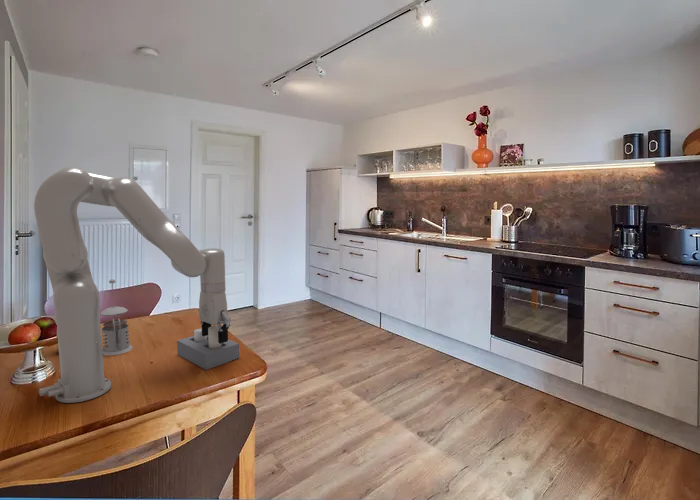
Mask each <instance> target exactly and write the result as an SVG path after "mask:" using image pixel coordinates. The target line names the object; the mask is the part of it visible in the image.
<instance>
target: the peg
mask: <svg viewBox="0 0 700 500" xmlns="http://www.w3.org/2000/svg"><path fill="white" fill-rule="evenodd" d="M218 331H219V329H218V326H217V325H211V327H209V328H208V340H209V349H211V350H214V349H217V348H220V347H222V343H221V344H220V343H218Z"/></svg>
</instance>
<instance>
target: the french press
mask: <svg viewBox="0 0 700 500" xmlns="http://www.w3.org/2000/svg"><path fill="white" fill-rule="evenodd" d="M108 282H109V284H111V287H112V291H114V284H115V283H116V279H109V281H108ZM114 293H115V292H112V302H113V303H112V305H113V306H111V307H107V308H105V309H104V310H101V312H100V316H103V317H113V318H112V320H109V321H108V320H107V321H105V322H104V323H102V326H103V327H102V328H101V338H102V337H103V338H102V354H103V356H116V355H121V354H122V355H123V354H125V353H128V352H130V351H131V350H133V347H134V346H132V345H131V344H130V337H129V336H130V335H129V332H130V331H129V324H127V322H128V321H127V320H126V319H120V318H119V317H118V319H116V316H120V315H124V314H126V313H127V312H128V311H129V310H128V309H127V308H125V307H122V306H115V297H114V295H115V294H114Z"/></svg>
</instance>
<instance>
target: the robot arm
mask: <svg viewBox="0 0 700 500" xmlns="http://www.w3.org/2000/svg"><path fill="white" fill-rule="evenodd" d="M33 203H34V204H33V209H34V217H35V220H36V225H37V230H38V234H39V237H40V242H41V246H42V256H43V260H44V262H45V267H46V270H47V273H48V276H49V281H50V284H51V287H52V288H51V289H52V292H53V303H54V311H55V312H54V314H55V323H56V324H55V326H56V325H57V332H56V338H57V337H58V347H59V353H58V356H59V357H58V358H59V368H60V378H57V382H55V383H54V384H53V385H49V386H45V387H42V388H39V389H38V393H39V394H38V395H39V397H43V396H47V397H48V398H50V397H55V400H56V401H58V402H60V403H64V404H66V403H67V404H70V403H71V404H72V403H73V404H74V403H80V402H81V403H82V402H85V401H89V400H92V399H95V398H98V397H100V396H102V395H104V394H106V393H107V392H108V391H110V389H111V388H112V381H111V380H110V379H109V378H106V377H105V371H104V370H105V369H104V355H103V354H102V349H103V339H102V328H101V314H100V313H101V312H100V311H101V299H100V293H99V289H98V287H97V285H96V284H95V282H94V280H93V279H94V278H93V275H92V272H91V267H90V263H89V260H88V259H89V258H88V257H89V255H88V254H89V253H88V250H87V249H88V248H87V247H86V244H85V242H84V239H83V234H82V230H81V228H80V221H79V218H78V217H79V216H78V206H79V204H80V203H85V204H86V203H87V204H92V205H98V206H105V207H114V208H115V209H116V210H117V211H118V212H119V213H120V214H121V215H123V217H124V218H125V219H126V220H127V221H128V222H129V224H131V225H132V226H133V227H134V229H136V230H137V232H138V233H139V234H140V235H141V236H142V237H143V238H144V239H146V240H147V242H149V243H151V244H152V245H154V246H155V247H157V248H158V249H159V250H160V251H161V252H162V253H164V255H166V257H168V259H169V260H170V262H171V266H172V268H173V269H174V271H176V272H178V273H180V274H181V275H183V276H185V277H187V278H196V277H199V276H200V277H199V278H200V293H199V299H198V300H199V301H198V304H199V305H198V318H199V320H200V324H201V329H202V336H207V335H208V328H209V327H211V326H218V329H219V331H218V343H220V344H221V343H224V342H227V341H228V339H229V334H228V333H229V329H230V326H231V321H232V319H231V317H230V316H229V314H228V313H229V310H228V302H227V295H226V264H225V263H226V259H225V257H226V256H225V252H224V250H223V249H221V248H205V249H198V248H197V247H196V246H195V245H194V243H193V242H192V241H191V240H190V239H189V237H187V236H186V235H185V234H184V232H183V231H181V230H180V229H179V228H178V227H177V226H176V224H175V223H174V222H173V221H172V220H171V219H170V218H169V217H168V216H167V215H166V214H165V213H164V212H163V210H161V208H160V207H159V206H158V205H157V204H156V203H155V202H154V200H153V198H151V197H150V196H149V194H148V193H147V192H146V191H145V190H144V189H143V187H142V186H140V184H139V183H138V182H137V181H136V180H134V179H132V178H130V177H114V176H113V177H112V176H106V175H102V174H96V173H92V172H91V173H90V172H87V171H86V170H84V169H82V168H79V167H77V166H76V167H74V166H69V167H64V168H62V169H59V170H58V171H56V172H54V173H53V174H51V175H50V176H48V177H47V178H46V179H45V180H44V181H43V182H42V183H41V185H40V186H39V188H38V189H37V191H36V193H35V197H34V202H33Z"/></svg>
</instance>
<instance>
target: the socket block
mask: <svg viewBox="0 0 700 500" xmlns="http://www.w3.org/2000/svg"><path fill="white" fill-rule="evenodd" d="M176 344H177V345H176V348H177V356H179V357H181V358H183V359H185V360H187V361H189V362H191V363H193V364H195V365H196V366H198V367H200V368H202V369H203V370H205V371H206V370H210V369H212V368H215V367H218V366H222V365H224V364H227V363H229V361H230V362H232V360H233V361H235V359H236V360H238V359H240V343H238V342H235V341H234V340H231V339H229V338H228V341H227V342H224V343H222V347H220V348H217V349H214V350H211V349H209V340H208V335H207V336H202V328H196V329H195V330H193V336H192V335H191V336H188V337H184V338H181V339H178V340H176ZM237 358H238V359H237Z"/></svg>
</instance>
